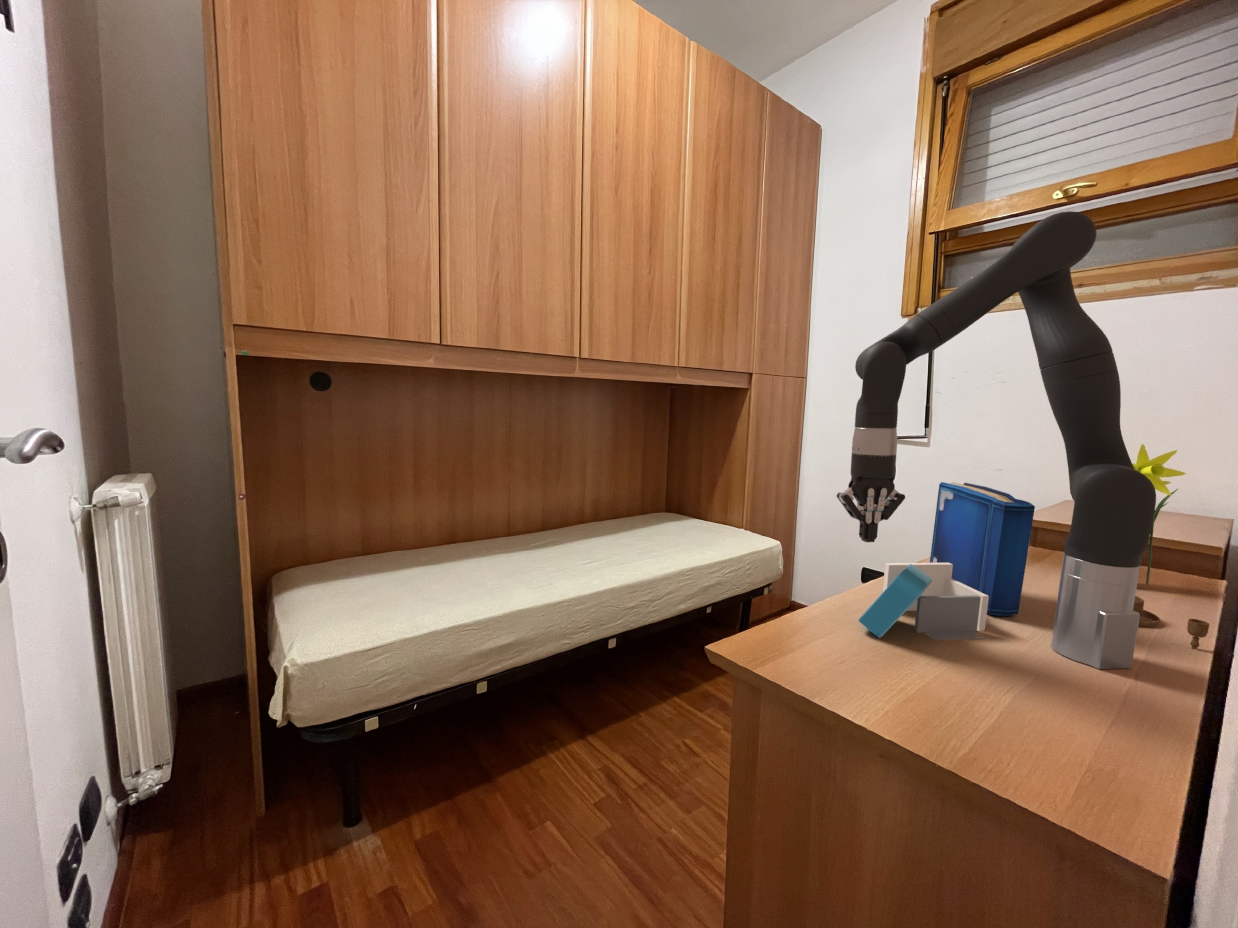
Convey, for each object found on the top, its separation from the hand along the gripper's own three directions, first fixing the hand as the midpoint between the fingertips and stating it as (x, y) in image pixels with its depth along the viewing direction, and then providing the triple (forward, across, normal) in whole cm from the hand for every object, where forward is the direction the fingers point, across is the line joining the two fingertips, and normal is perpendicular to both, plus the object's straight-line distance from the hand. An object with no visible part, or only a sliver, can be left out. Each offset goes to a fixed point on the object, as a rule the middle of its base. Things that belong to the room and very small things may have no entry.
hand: (867, 541), depth 94 cm
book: (+17, +32, +10) cm, 38 cm away
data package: (+16, +1, -2) cm, 16 cm away
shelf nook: (+17, +15, 0) cm, 22 cm away
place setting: (+18, +54, -3) cm, 57 cm away
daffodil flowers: (+17, +78, +17) cm, 82 cm away
